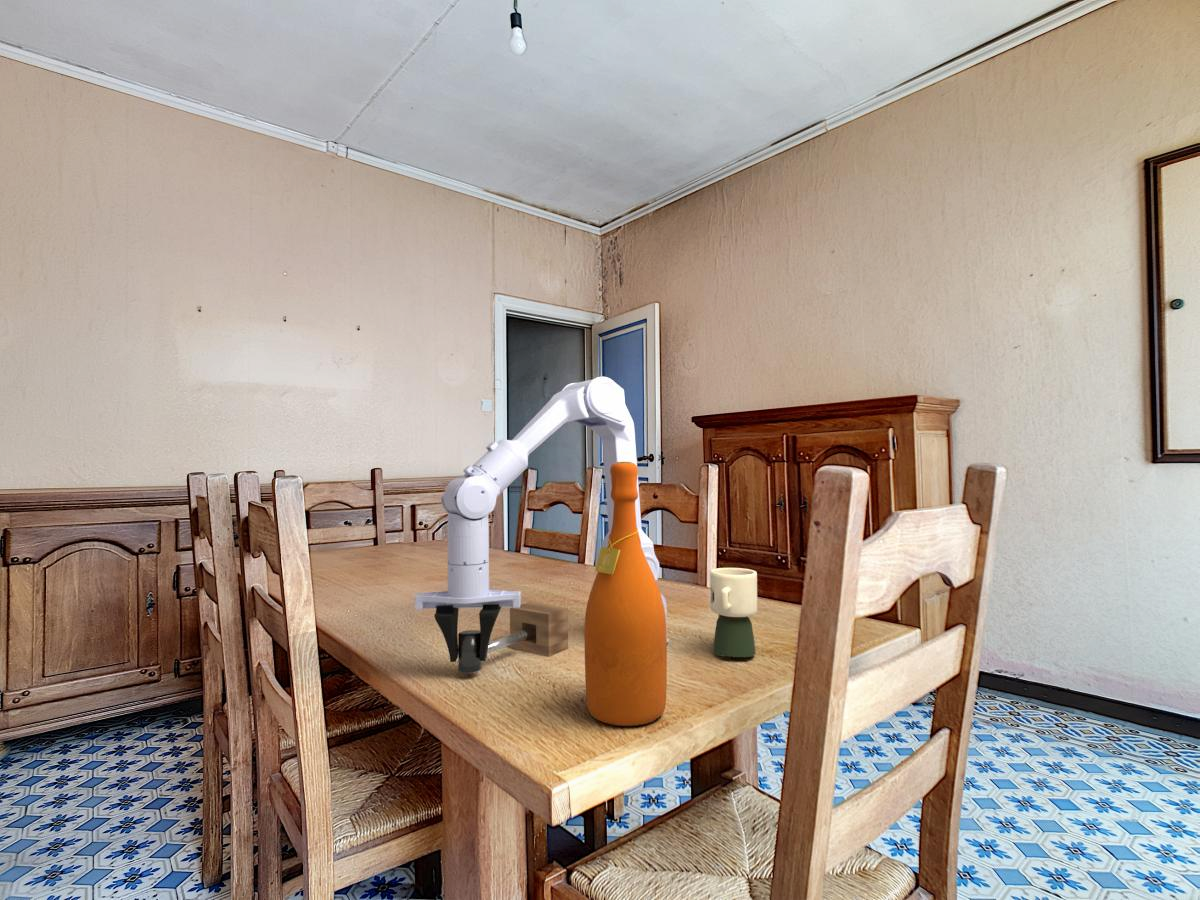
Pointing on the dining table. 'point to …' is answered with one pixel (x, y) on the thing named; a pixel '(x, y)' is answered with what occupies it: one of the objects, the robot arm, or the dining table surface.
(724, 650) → the character mug
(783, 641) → the dining table surface
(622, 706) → the wine bottle
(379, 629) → the dining table surface
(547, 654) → the eye block
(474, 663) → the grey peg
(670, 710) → the dining table surface
